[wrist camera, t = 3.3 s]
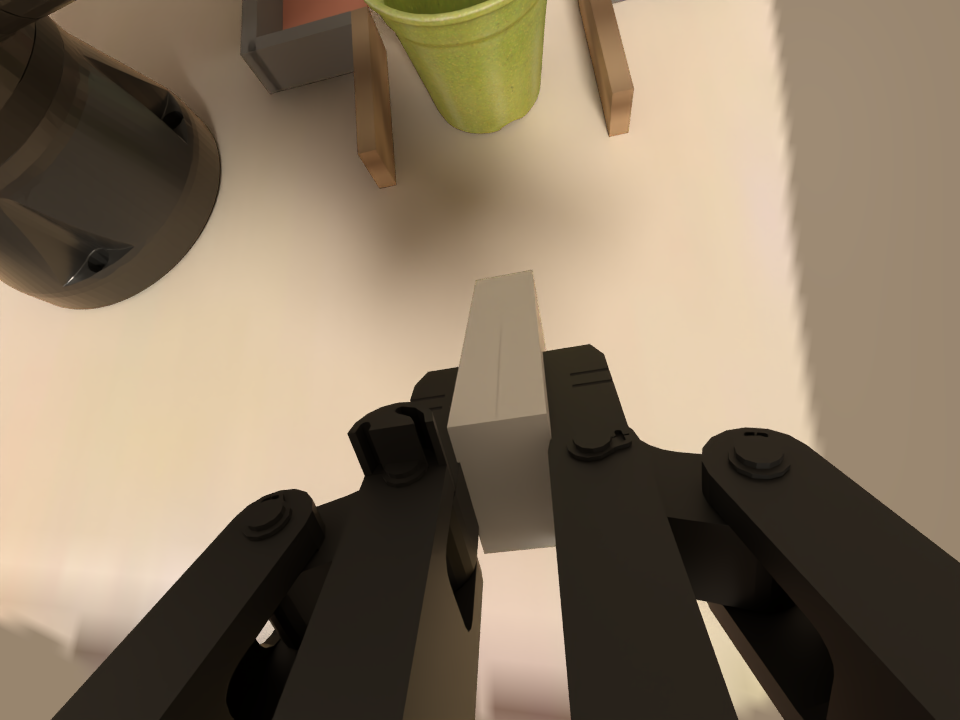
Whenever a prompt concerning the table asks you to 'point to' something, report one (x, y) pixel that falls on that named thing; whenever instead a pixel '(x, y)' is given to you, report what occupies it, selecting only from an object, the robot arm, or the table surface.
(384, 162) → the chute
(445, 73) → the plant pot
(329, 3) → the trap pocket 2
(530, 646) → the table surface
